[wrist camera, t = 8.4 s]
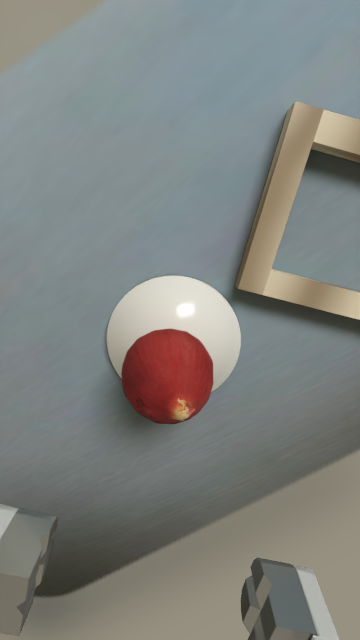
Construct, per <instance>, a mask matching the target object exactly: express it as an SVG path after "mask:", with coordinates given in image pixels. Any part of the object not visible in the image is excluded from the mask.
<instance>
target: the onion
mask: <svg viewBox="0 0 360 640" xmlns="http://www.w3.org/2000/svg"><path fill="white" fill-rule="evenodd" d="M121 375H122V385H123V390H124V393H125V396H126V397H127V399H128V400H129V402H130V403H131V405H132V406H133V407H134V409H135V410H136V411H137V413H139V414H141V415H142V416H144V417H146V418H148V419H150V420H152V421H154V422H156V423H160V424H177V423H180V422H183V421H186V420H188V419H190V418H191V417H193V416H194V415H196V414H197V413H198V412H199V411H200V410H201V409H202V408H203V406H204V405H205V404H206V403H207V401H208V399H209V396H210V393H211V390H212V387H213V383H214V382H213V362H212V359H211V357H210V355H209V353H208V351H207V350H206V348H205V346H204V345H203V344H202V342H201V341H200V340H199V339H197V338H196V337H194V336H193V335H191V334H190V333H188V332H186V331H181V330H176V329H162V330H154V331H152V332H150V333H148V334H146V335H144V336H142V337H140V338H138V339H137V340H136V341H135V342H134V344H133V345H132V346H131V347H130V348H129V350H128V351H127V353H126V356H125V359H124V362H123V365H122V372H121Z"/></svg>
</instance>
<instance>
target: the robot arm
mask: <svg viewBox="0 0 360 640" xmlns="http://www.w3.org/2000/svg"><path fill="white" fill-rule="evenodd" d="M57 519H58V518H57V517H54V516H50V515H46V514H42V513H37V512H33V511H29V510H25V509H21V508H16V507H11V506H7V505H2V504H0V633H4V634H10V635H17V636H19V635H20V632H21V630H22V627H23V625H24V623H25V620H26V618H27V615H28V613H29V610H30V608H31V605H32V602H33V597H34V592H35V587H37V586H38V585H39V584H40V583H41V580H42V578H43V575H44V573H45V570H46V567H47V564H48V561H49V558H50V554H51V551H52V547H53V542H54V540H53V538H52V536H53V534H54V532H55V529H56V526H57ZM251 571H252V576H250V577H249V578H247V579H246V580H245V583H244V585H243V589H242V595H241V613H242V620H243V624H244V625H245V627H246V628H247V630H248V631H249V633H250V636H249V638H248V640H340V639H339V637H338V634H337V632H336V629H335V626H334V624H333V621H332V619H331V616H330V613H329V611H328V608H327V606H326V603H325V600H324V598H323V595H322V593H321V590H320V588H319V585H318V582H317V580H316V577H315V574H314V572H313V571H312V570H311V569H310V568H306V567H300V566H296V565H291V564H287V563H282V562H277V561H272V560H267V559H261V558H256V559H255V560H254V561H253V563H252V566H251Z"/></svg>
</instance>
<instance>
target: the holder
mask: <svg viewBox="0 0 360 640" xmlns="http://www.w3.org/2000/svg"><path fill="white" fill-rule="evenodd" d="M311 149H312V150H316V151H320V152H323V153H327V154H330V155H334V156H337V157H341V158H344V159H348V160H351V161H355V162H358V163H360V120H357V119H354V118H351V117H347V116H344V115H340V114H337V113H334V112H330V111H327V110H323V109H320V108H316V107H313V106H310V105H306V104H303V103H299V102H295V103H294V104H293V105H292V106H291V107H290V108H289V109H288V111H287V115H286V118H285V121H284V125H283V128H282V131H281V135H280V138H279V141H278V144H277V148H276V151H275V154H274V158H273V161H272V164H271V167H270V171H269V174H268V177H267V181H266V184H265V187H264V190H263V194H262V197H261V200H260V204H259V207H258V210H257V214H256V217H255V220H254V223H253V227H252V230H251V233H250V237H249V240H248V243H247V246H246V250H245V253H244V256H243V260H242V263H241V266H240V269H239V273H238V276H237V279H236V283H235V286H236V287H237V288H238V289H241V290H245V291H249V292H253V293H257V294H261V295H264V296H268V297H272V298H276V299H280V300H284V301H288V302H292V303H296V304H300V305H304V306H307V307H311V308H315V309H319V310H323V311H327V312H331V313H335V314H339V315H343V316H347V317H350V318H354V319H358V320H360V292H358V291H354V290H350V289H346V288H342V287H339V286H335V285H331V284H327V283H323V282H319V281H316V280H312V279H308V278H304V277H300V276H296V275H293V274H289V273H285V272H281V271H277V270H273V269H271V268H272V265H273V262H274V259H275V256H276V253H277V250H278V247H279V244H280V241H281V238H282V235H283V232H284V229H285V226H286V223H287V220H288V217H289V214H290V210H291V207H292V204H293V201H294V198H295V195H296V192H297V189H298V186H299V183H300V180H301V177H302V174H303V171H304V168H305V165H306V162H307V159H308V156H309V153H310V150H311Z"/></svg>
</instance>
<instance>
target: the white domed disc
mask: <svg viewBox="0 0 360 640" xmlns="http://www.w3.org/2000/svg"><path fill="white" fill-rule="evenodd" d="M162 329H176V330H181V331H186V332H188V333H190V334H191V335H193V336H194V337H196V338H197V339H199V340H200V341H201V342H202V344H203V345H204V346H205V348H206V350H207V351H208V353H209V355H210V357H211V359H212V362H213V382H214V383H213V387H212V390H211V392H213V391H214V390H215V389H217V388H218V387H219V386H220V385H221V384H222V383H223V382H224V381H225V380H226V379H227V378H228V377H229V375H230V374H231V372H232V371H233V369H234V367H235V365H236V362H237V360H238V357H239V353H240V346H241V333H240V328H239V324H238V321H237V318H236V315H235V313H234V311H233V309H232V308H231V306H230V305H229V303H228V302H227V300H226V299H225V298H224V297H223V296H222V295H221V294H220V293H219V292H218V291H217V290H216V289H214V288H213V287H211V286H210V285H208V284H207V283H205V282H202V281H200V280H198V279H195V278H192V277H187V276H182V275H166V276H160V277H155V278H152V279H149V280H146V281H144V282H143V283H141V284H139V285H137V286H136V287H134V288H133V289H131V290H130V291H129V292H128V293H127V294H126V295H125V296H124V297H123V298H122V300H121V301H120V302H119V303H118V305H117V306H116V308H115V310H114V311H113V313H112V316H111V318H110V321H109V325H108V330H107V348H108V353H109V357H110V360H111V362H112V364H113V367H114V368H115V370H116V372H117V373H118V375H119V376H120V377H121V379H122V375H121V372H122V365H123V362H124V359H125V356H126V353H127V351H128V350H129V348H130V347H131V346H132V345H133V344H134V342H135V341H136V340H137V339H138V338H140V337H142V336H144V335H146V334H148V333H150V332H152V331H154V330H162Z"/></svg>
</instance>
